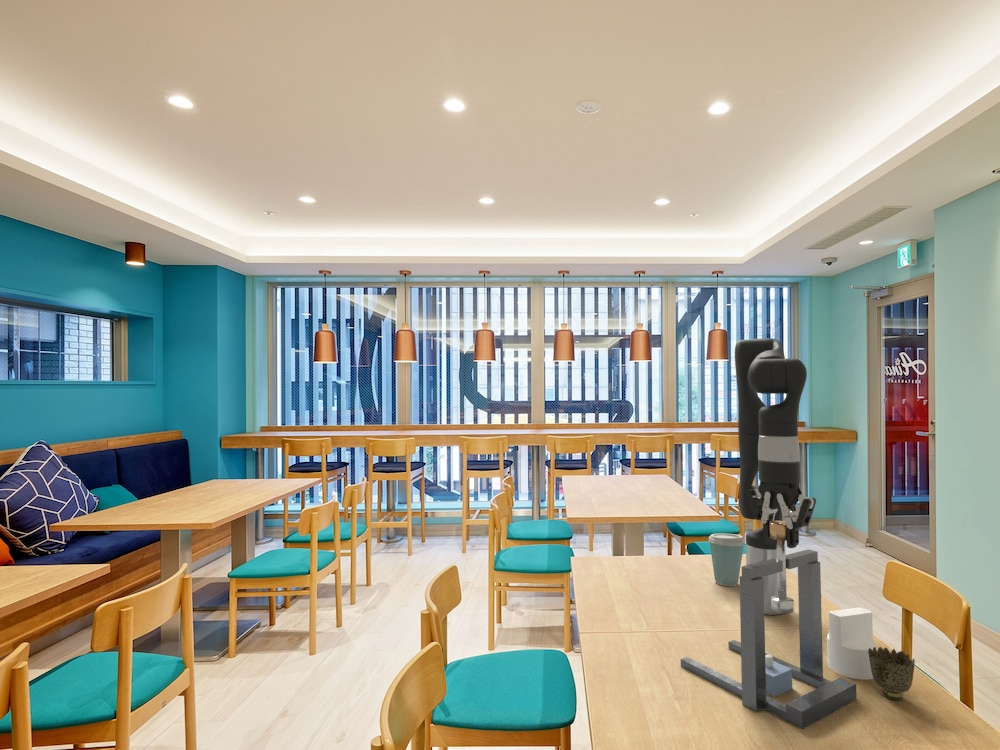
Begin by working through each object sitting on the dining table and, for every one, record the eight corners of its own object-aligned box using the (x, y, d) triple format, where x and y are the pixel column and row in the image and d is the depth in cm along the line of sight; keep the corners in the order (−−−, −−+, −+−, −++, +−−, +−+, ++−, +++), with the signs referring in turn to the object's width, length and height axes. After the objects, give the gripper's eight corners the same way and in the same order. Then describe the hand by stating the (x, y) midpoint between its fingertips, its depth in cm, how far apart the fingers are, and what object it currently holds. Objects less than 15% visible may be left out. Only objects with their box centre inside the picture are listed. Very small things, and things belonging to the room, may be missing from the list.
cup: (924, 709, 105) (922, 665, 105) (879, 705, 106) (878, 662, 106) (903, 688, 112) (902, 647, 112) (862, 685, 113) (861, 644, 114)
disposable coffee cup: (701, 580, 177) (700, 532, 178) (726, 575, 182) (725, 528, 182) (727, 591, 167) (726, 540, 168) (753, 585, 172) (752, 536, 172)
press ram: (778, 604, 114) (777, 519, 115) (798, 610, 111) (795, 523, 111) (766, 608, 112) (764, 522, 113) (785, 614, 109) (783, 526, 109)
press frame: (739, 644, 132) (737, 532, 133) (862, 696, 109) (858, 561, 110) (674, 668, 121) (672, 546, 122) (795, 732, 98) (791, 581, 99)
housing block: (765, 676, 118) (764, 647, 118) (792, 689, 112) (791, 658, 113) (746, 684, 114) (746, 654, 115) (774, 697, 109) (773, 666, 109)
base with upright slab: (853, 682, 115) (851, 622, 115) (817, 662, 123) (816, 606, 124) (887, 676, 117) (886, 617, 117) (850, 656, 126) (848, 602, 126)
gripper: (825, 460, 108) (827, 550, 108) (758, 454, 121) (759, 534, 120) (802, 463, 105) (804, 556, 104) (735, 456, 117) (737, 539, 116)
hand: (780, 544), depth 112 cm, fingers closed on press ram, 4 cm apart
